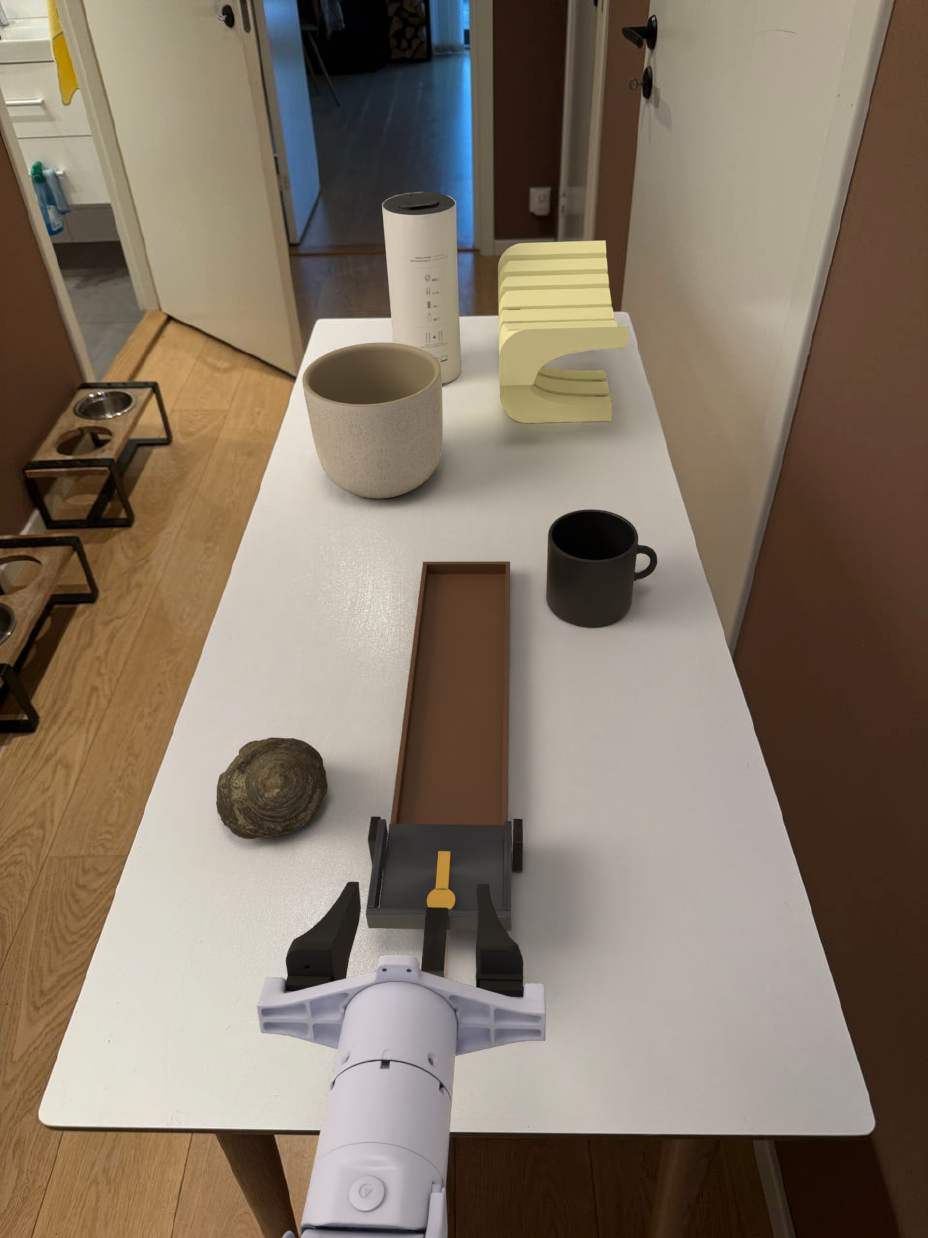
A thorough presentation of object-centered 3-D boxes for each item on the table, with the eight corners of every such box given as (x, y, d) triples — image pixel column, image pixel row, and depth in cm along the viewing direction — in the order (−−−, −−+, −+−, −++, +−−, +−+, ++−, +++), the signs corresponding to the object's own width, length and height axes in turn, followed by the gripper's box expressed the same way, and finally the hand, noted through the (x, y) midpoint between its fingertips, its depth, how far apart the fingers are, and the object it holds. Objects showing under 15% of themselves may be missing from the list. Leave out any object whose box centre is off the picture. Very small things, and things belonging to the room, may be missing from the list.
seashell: (186, 839, 73) (311, 831, 73) (189, 693, 77) (310, 686, 76) (226, 844, 84) (335, 837, 84) (228, 716, 87) (333, 710, 87)
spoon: (454, 915, 70) (454, 913, 70) (426, 915, 70) (425, 912, 70) (458, 854, 74) (458, 851, 74) (431, 853, 75) (430, 850, 74)
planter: (407, 527, 114) (396, 417, 104) (294, 496, 121) (274, 389, 110) (469, 460, 125) (465, 355, 115) (363, 434, 132) (350, 333, 122)
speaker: (460, 356, 149) (453, 185, 132) (465, 386, 141) (458, 208, 124) (395, 360, 149) (379, 189, 132) (396, 391, 141) (379, 213, 124)
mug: (663, 622, 99) (673, 556, 93) (553, 632, 99) (555, 565, 93) (643, 568, 107) (651, 503, 101) (540, 577, 106) (541, 512, 100)
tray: (507, 865, 78) (507, 851, 76) (388, 862, 78) (386, 849, 77) (510, 574, 107) (510, 561, 105) (424, 574, 107) (422, 561, 106)
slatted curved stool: (499, 356, 149) (497, 243, 137) (598, 353, 148) (605, 240, 136) (500, 454, 126) (499, 329, 115) (617, 452, 126) (628, 326, 114)
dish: (510, 1000, 66) (510, 974, 63) (360, 996, 66) (354, 970, 64) (511, 829, 77) (511, 801, 74) (382, 827, 77) (378, 799, 75)
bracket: (522, 872, 77) (522, 842, 74) (372, 869, 78) (367, 840, 75) (522, 848, 79) (522, 818, 76) (375, 845, 79) (370, 816, 77)
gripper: (549, 1045, 40) (542, 843, 53) (222, 1036, 41) (290, 840, 53) (547, 1152, 43) (540, 937, 56) (242, 1141, 44) (302, 932, 56)
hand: (418, 895), depth 55 cm, fingers open, 7 cm apart
